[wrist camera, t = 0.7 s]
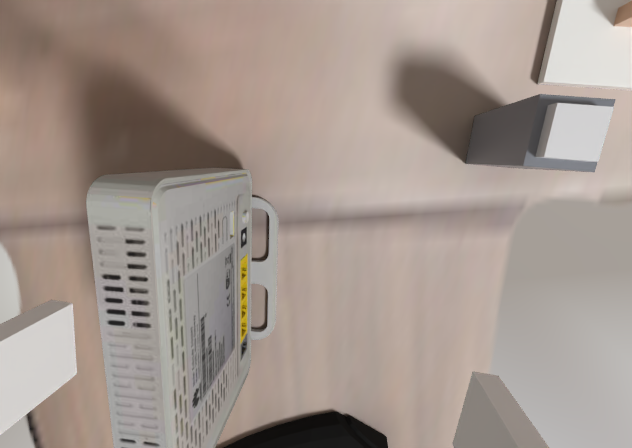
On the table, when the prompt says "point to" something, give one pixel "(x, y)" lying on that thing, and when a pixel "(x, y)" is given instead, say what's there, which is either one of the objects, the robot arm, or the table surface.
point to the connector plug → (542, 133)
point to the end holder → (589, 45)
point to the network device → (177, 299)
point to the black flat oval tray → (316, 434)
